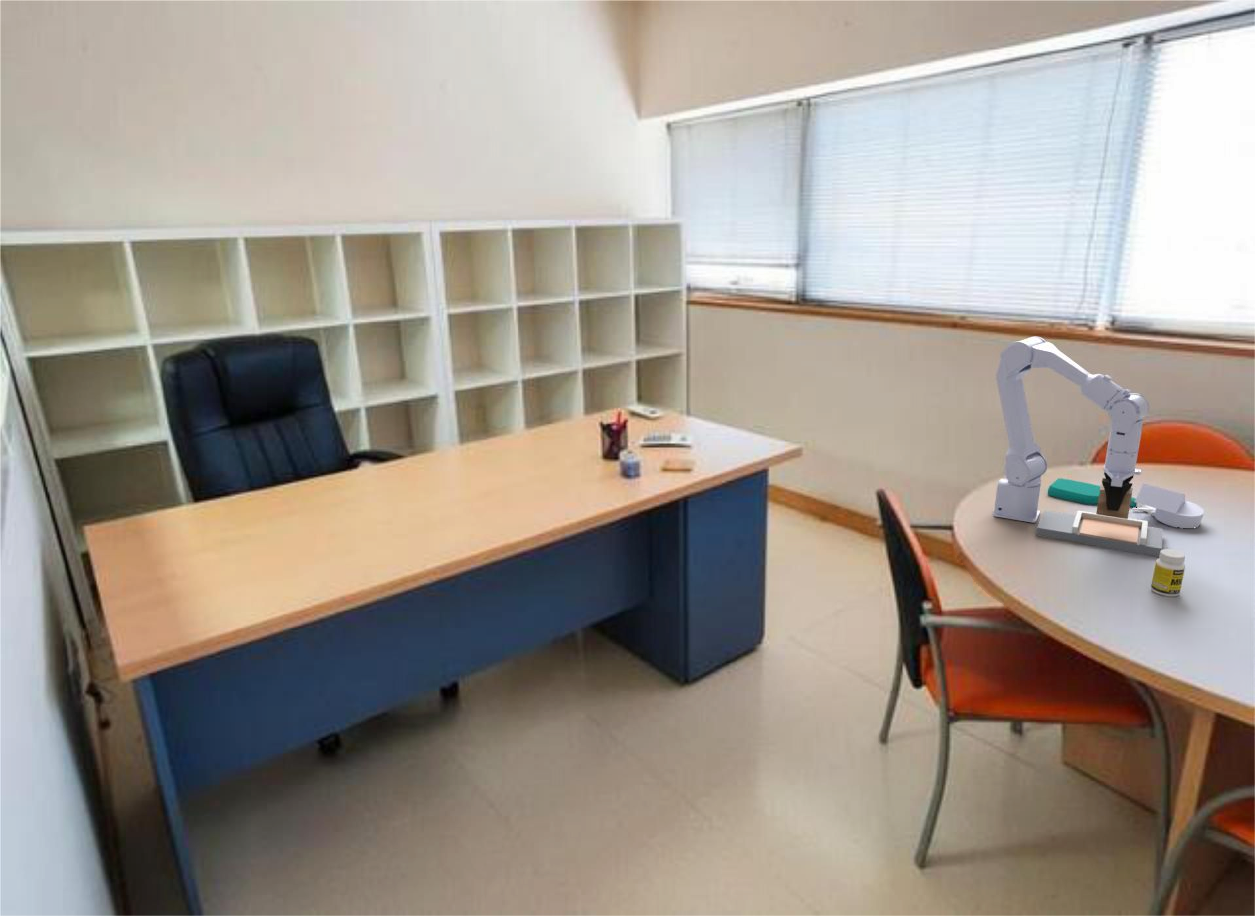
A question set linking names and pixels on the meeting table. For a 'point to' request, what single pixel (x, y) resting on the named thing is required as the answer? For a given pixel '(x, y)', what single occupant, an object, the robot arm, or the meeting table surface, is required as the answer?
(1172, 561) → the supplement bottle
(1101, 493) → the brown rectangular block
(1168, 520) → the wedge on round base
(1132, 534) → the frame
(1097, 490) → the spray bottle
